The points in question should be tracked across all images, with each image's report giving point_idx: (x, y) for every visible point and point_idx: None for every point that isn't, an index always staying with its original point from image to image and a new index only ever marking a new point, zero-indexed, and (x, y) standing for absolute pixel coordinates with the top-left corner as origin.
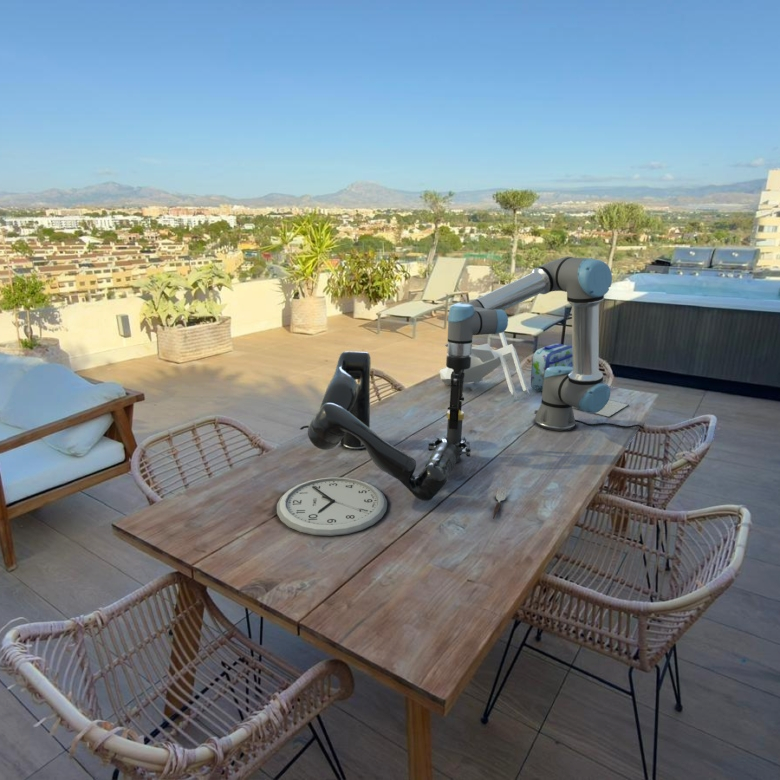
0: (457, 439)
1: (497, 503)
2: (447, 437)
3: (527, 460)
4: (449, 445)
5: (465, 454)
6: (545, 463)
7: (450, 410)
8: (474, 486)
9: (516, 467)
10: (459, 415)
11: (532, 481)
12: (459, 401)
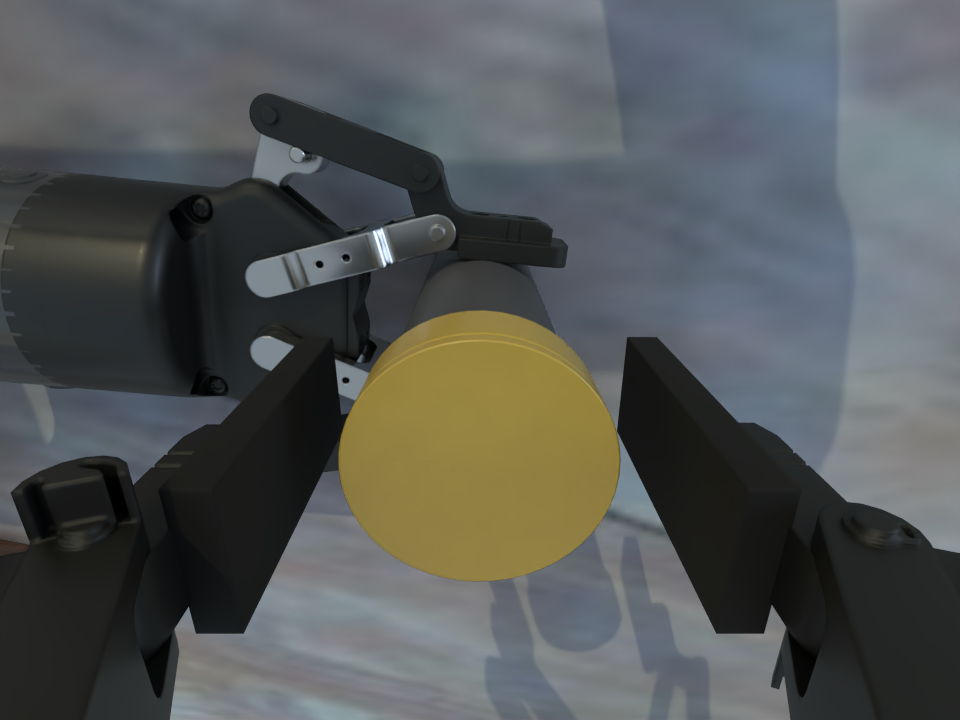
0: None
1: (18, 548)
2: (440, 274)
3: (578, 641)
4: (86, 351)
5: None
6: (561, 701)
7: (176, 484)
8: (174, 432)
9: (479, 600)
10: (368, 532)
11: (348, 656)
12: (730, 601)
